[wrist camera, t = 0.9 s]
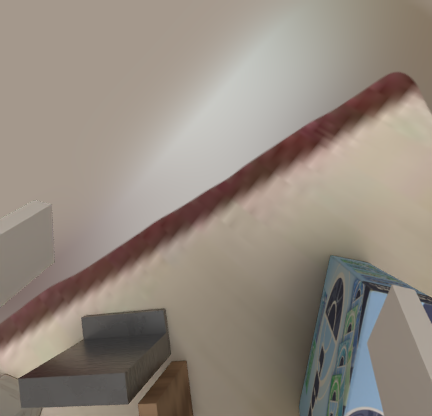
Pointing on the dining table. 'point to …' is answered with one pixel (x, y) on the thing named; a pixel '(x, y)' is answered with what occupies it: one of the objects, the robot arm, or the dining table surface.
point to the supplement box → (13, 399)
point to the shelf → (169, 393)
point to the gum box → (347, 341)
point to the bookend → (101, 362)
